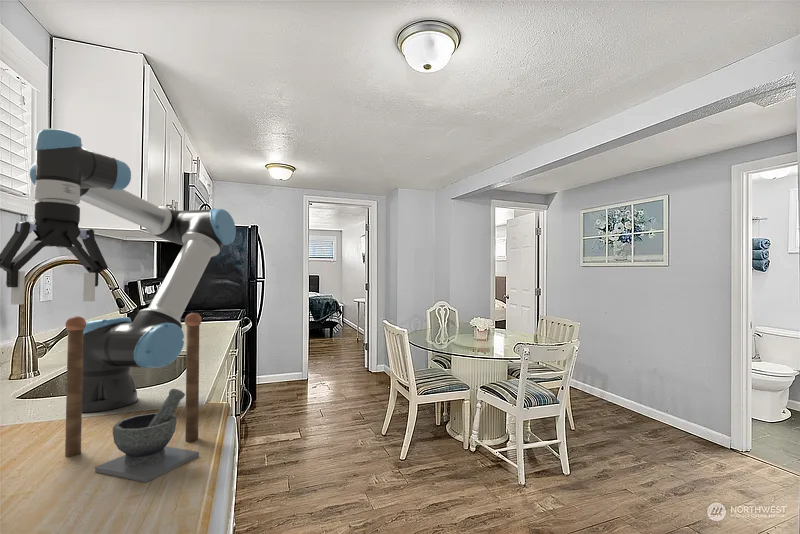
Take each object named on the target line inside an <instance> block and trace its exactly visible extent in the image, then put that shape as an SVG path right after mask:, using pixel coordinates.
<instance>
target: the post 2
mask: <svg viewBox="0 0 800 534" xmlns="http://www.w3.org/2000/svg"><path fill="white" fill-rule="evenodd" d="M184 324H185V327H186V348H185V350H186V354H185V355H186V359H185V361H186V363H185V364H186V365H185V366H186V367H185V437H184V438H185V442H187V443H191V442H192V441H193V442H196V441H198V440H199V418H200V417H199V413H200V410H199V406H200V405H199V403H200V402H199V399H200V325H201V324H202V316H201V315H200V314H199V313H197V312H191V313H188V314H187V315H186V316H185V318H184Z"/></svg>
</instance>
